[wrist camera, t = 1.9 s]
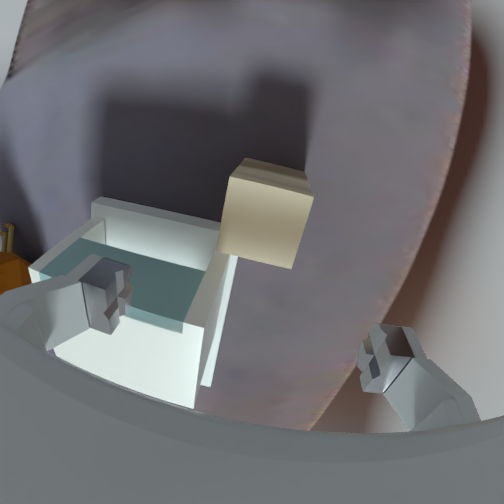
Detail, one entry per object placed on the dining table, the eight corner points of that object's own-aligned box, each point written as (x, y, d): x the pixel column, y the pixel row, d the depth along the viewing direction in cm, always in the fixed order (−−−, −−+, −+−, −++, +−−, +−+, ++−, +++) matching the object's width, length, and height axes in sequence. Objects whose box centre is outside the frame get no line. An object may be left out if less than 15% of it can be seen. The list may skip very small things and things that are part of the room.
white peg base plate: (101, 196, 20) (71, 214, 17) (245, 228, 20) (236, 254, 17) (114, 345, 29) (100, 370, 25) (213, 376, 29) (205, 405, 25)
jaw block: (245, 157, 18) (229, 176, 13) (304, 171, 18) (314, 197, 13) (234, 212, 20) (215, 251, 15) (289, 225, 20) (291, 269, 15)
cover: (94, 216, 19) (28, 267, 12) (231, 250, 19) (204, 328, 12) (100, 297, 23) (56, 355, 16) (215, 332, 23) (193, 408, 16)
